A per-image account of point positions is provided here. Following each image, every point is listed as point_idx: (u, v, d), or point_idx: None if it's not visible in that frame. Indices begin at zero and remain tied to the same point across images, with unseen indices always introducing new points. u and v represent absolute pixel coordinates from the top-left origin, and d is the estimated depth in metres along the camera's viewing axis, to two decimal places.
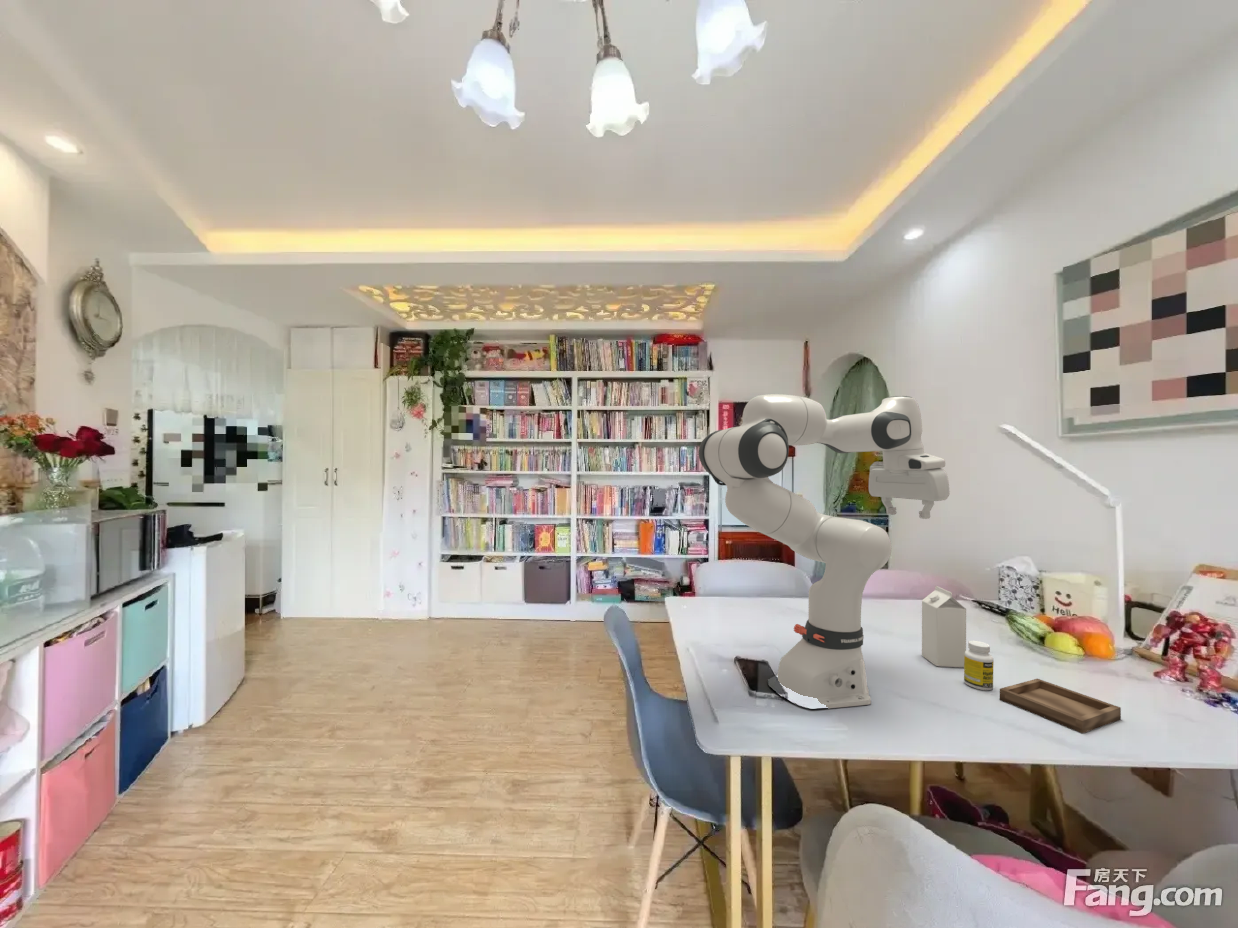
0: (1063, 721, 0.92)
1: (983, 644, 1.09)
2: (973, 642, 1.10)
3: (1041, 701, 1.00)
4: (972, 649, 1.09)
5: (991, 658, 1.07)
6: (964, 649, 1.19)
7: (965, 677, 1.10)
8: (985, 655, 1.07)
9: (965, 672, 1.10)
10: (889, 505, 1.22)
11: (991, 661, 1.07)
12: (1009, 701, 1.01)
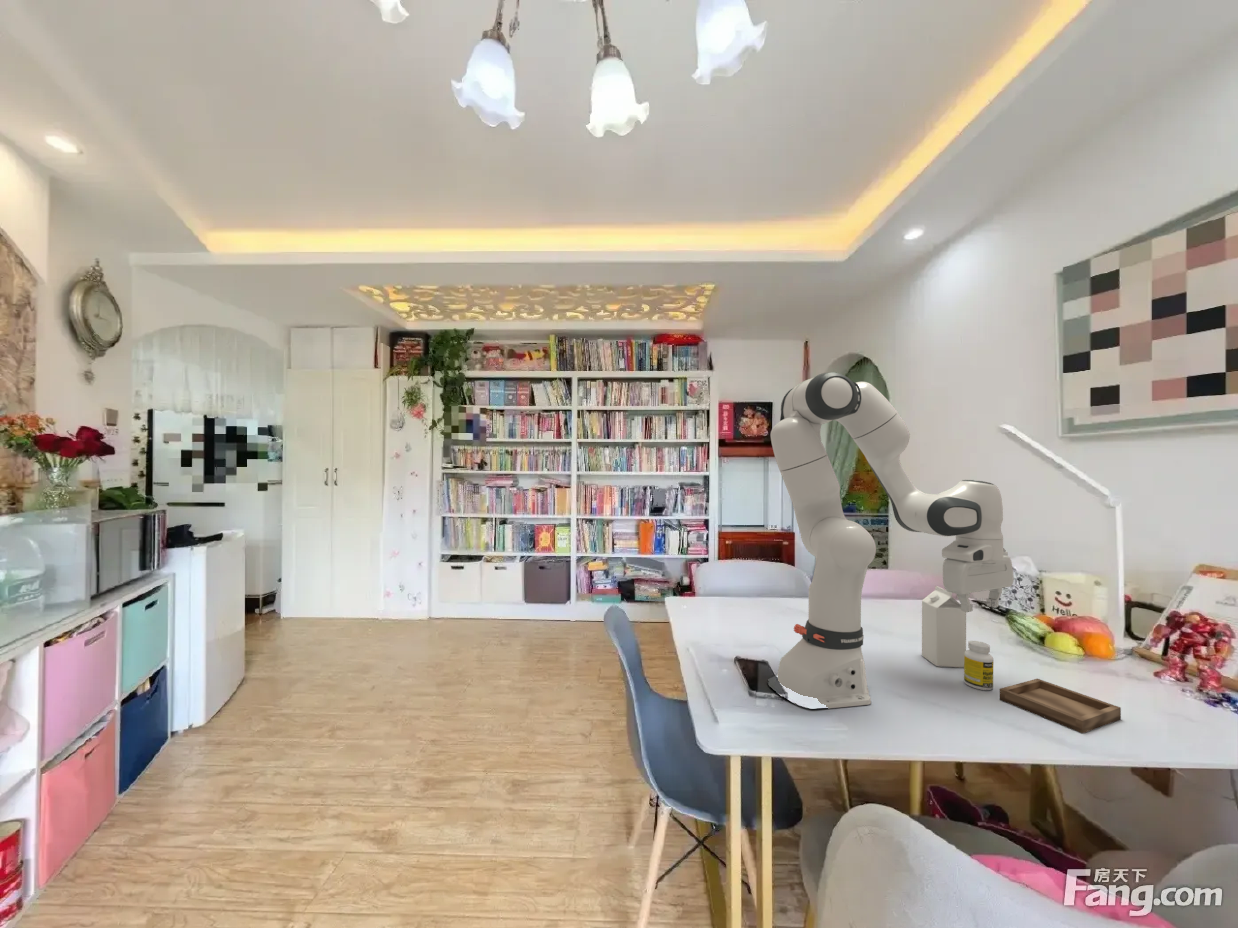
0: (1063, 721, 0.92)
1: (983, 644, 1.09)
2: (973, 642, 1.10)
3: (1041, 701, 1.00)
4: (972, 649, 1.09)
5: (991, 658, 1.07)
6: (964, 649, 1.19)
7: (965, 677, 1.10)
8: (985, 655, 1.07)
9: (965, 672, 1.10)
10: (992, 596, 1.11)
11: (991, 661, 1.07)
12: (1009, 701, 1.01)
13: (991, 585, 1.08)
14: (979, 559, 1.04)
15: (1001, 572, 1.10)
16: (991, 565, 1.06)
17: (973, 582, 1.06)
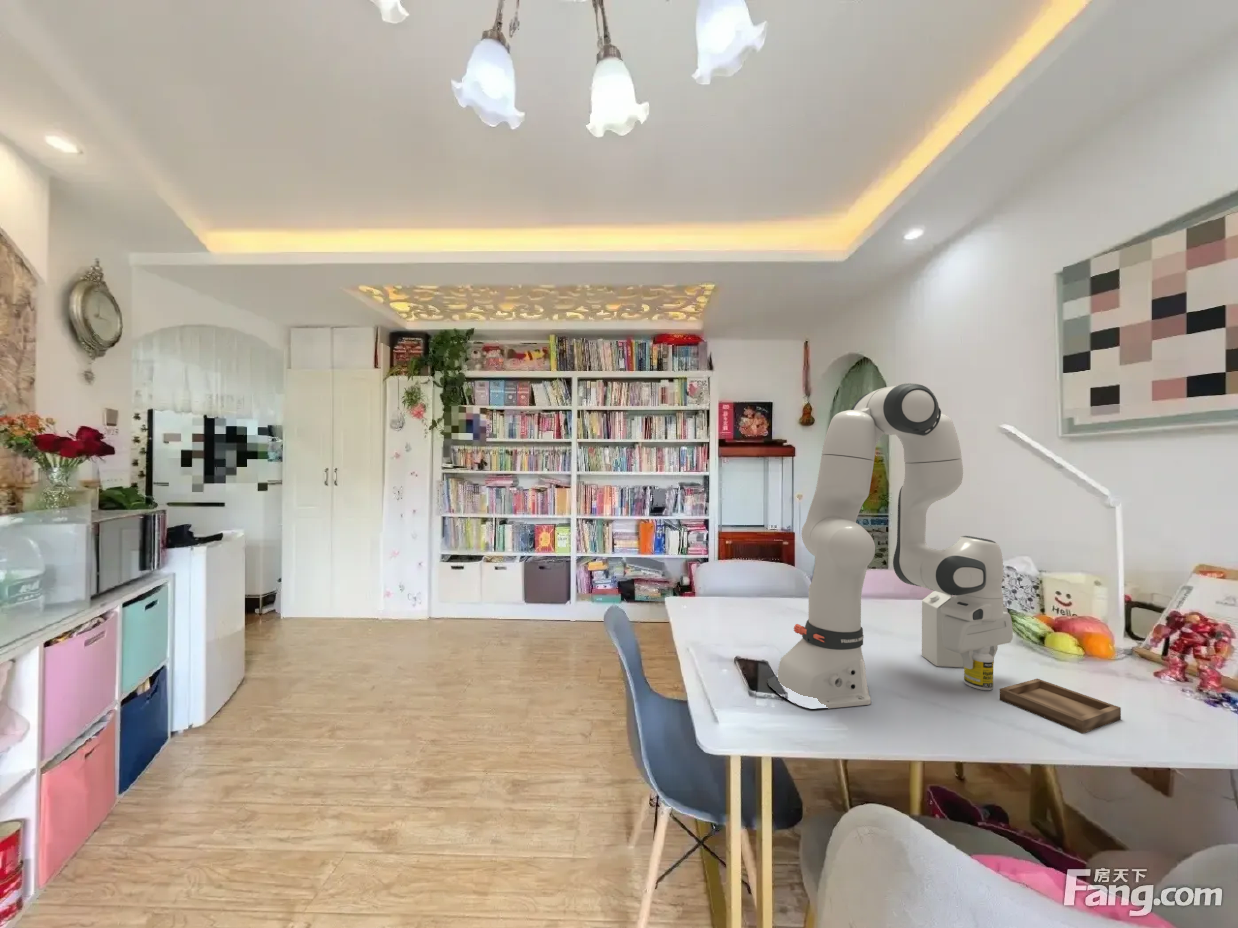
0: (1063, 721, 0.92)
1: None
2: None
3: (1041, 701, 1.00)
4: None
5: (991, 658, 1.07)
6: None
7: (965, 677, 1.10)
8: (985, 655, 1.07)
9: (965, 672, 1.10)
10: None
11: (991, 661, 1.07)
12: (1009, 701, 1.01)
13: (990, 642, 1.08)
14: (979, 618, 1.04)
15: (1000, 629, 1.09)
16: (991, 623, 1.06)
17: (972, 640, 1.06)
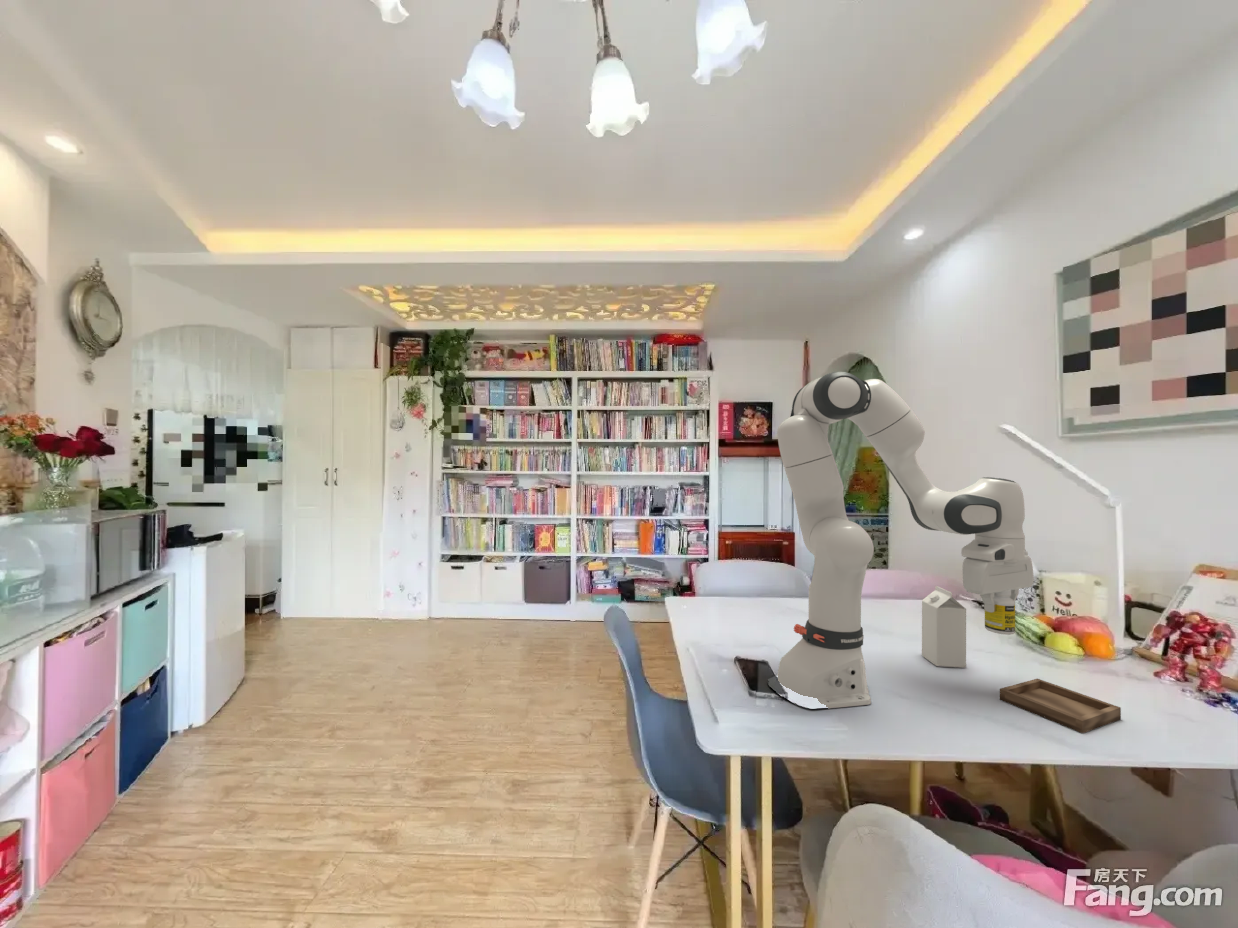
0: (1063, 721, 0.92)
1: None
2: None
3: (1041, 701, 1.00)
4: None
5: (1013, 602, 1.04)
6: (964, 649, 1.19)
7: (986, 623, 1.07)
8: (1006, 599, 1.05)
9: (986, 618, 1.07)
10: None
11: (1013, 605, 1.04)
12: (1009, 701, 1.01)
13: (1012, 585, 1.05)
14: (1001, 558, 1.01)
15: (1021, 572, 1.07)
16: (1012, 565, 1.03)
17: (994, 582, 1.03)
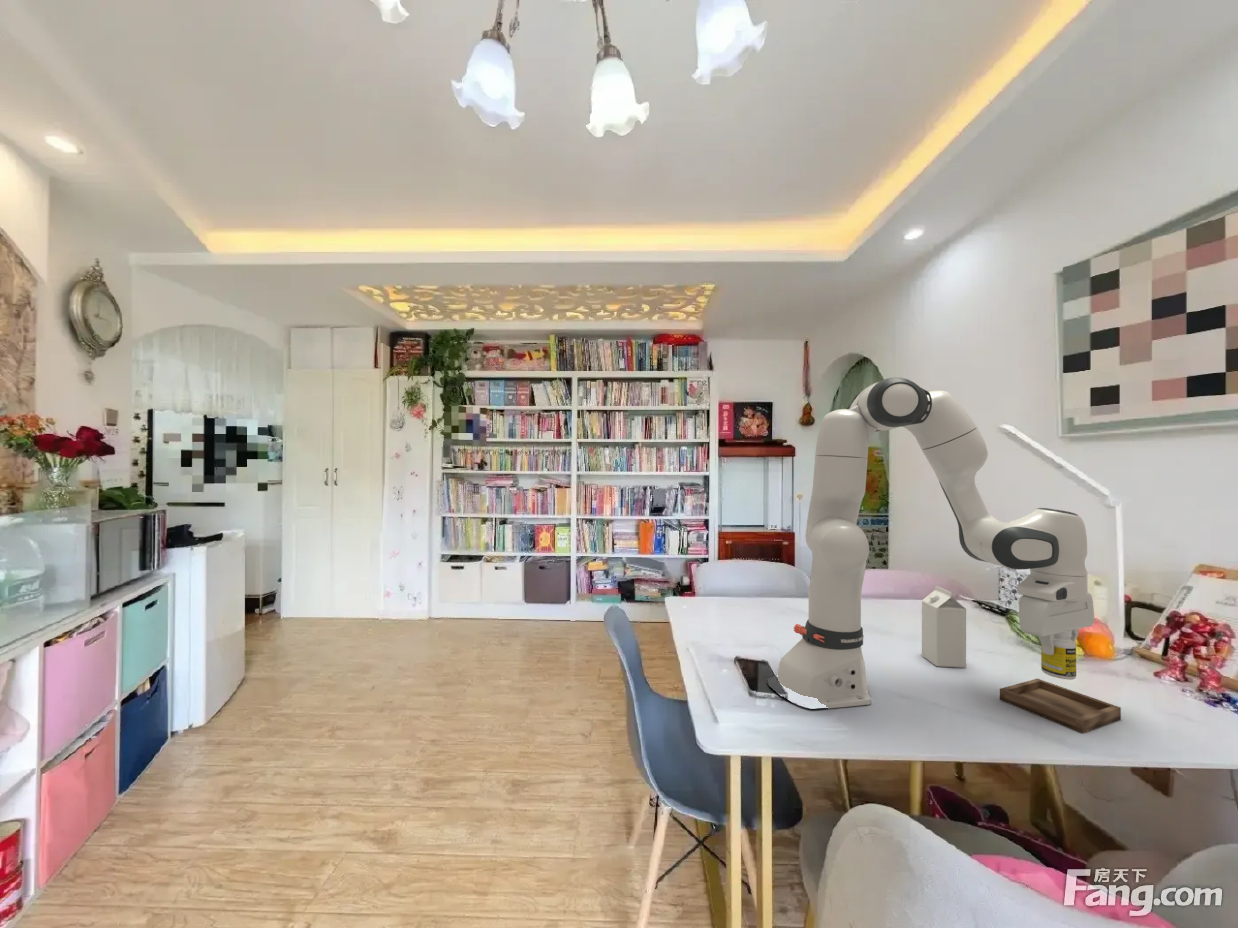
0: (1063, 721, 0.92)
1: None
2: None
3: (1041, 701, 1.00)
4: None
5: (1074, 644, 0.96)
6: (964, 649, 1.19)
7: (1043, 665, 0.99)
8: (1067, 641, 0.97)
9: (1043, 660, 0.99)
10: None
11: (1074, 647, 0.96)
12: (1009, 701, 1.01)
13: (1072, 625, 0.97)
14: (1062, 598, 0.94)
15: (1082, 611, 0.99)
16: (1074, 604, 0.96)
17: (1054, 623, 0.95)
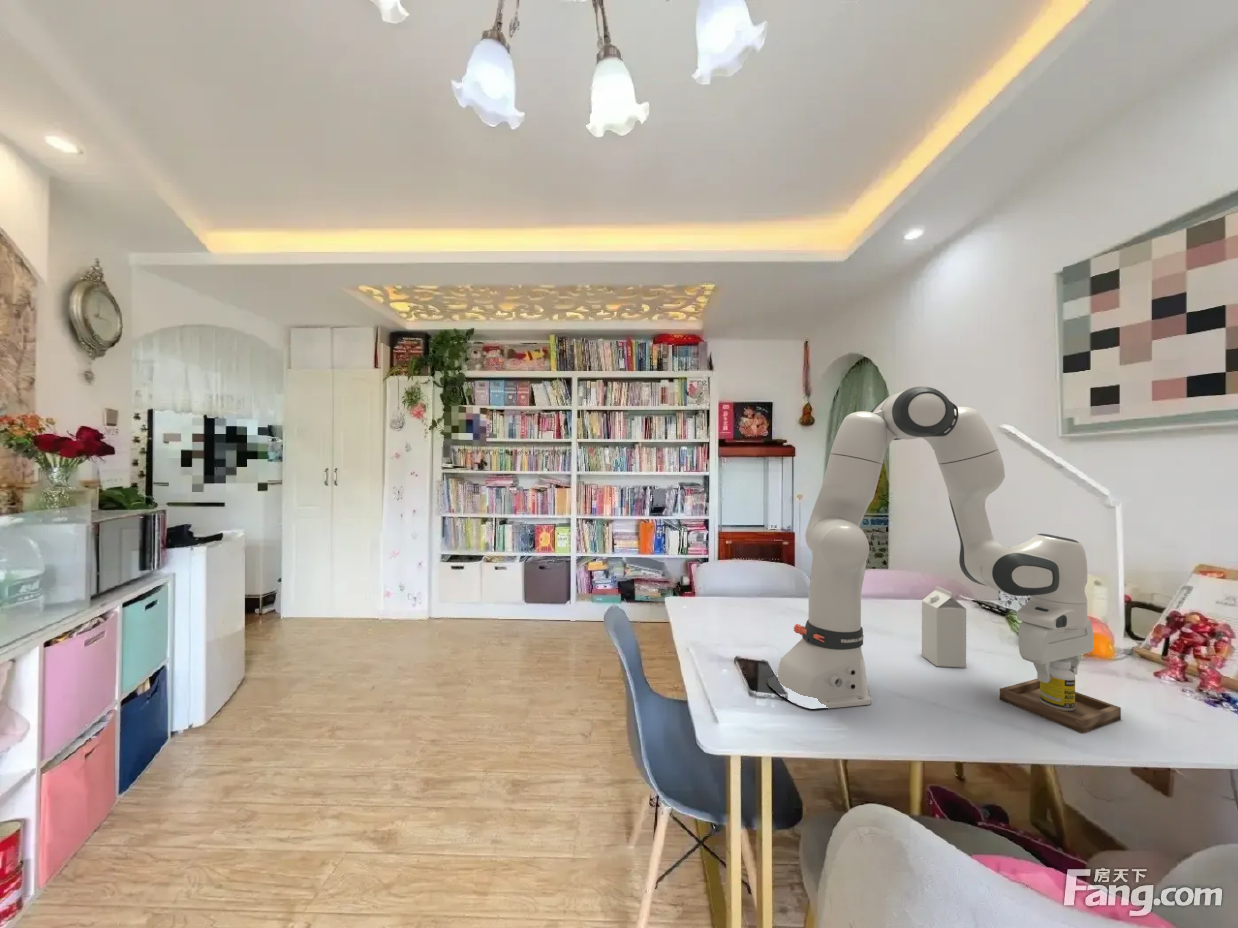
0: (1063, 721, 0.92)
1: (1063, 659, 0.98)
2: None
3: None
4: (1050, 665, 0.98)
5: (1073, 675, 0.96)
6: (964, 649, 1.19)
7: (1042, 696, 0.99)
8: (1066, 672, 0.97)
9: (1042, 690, 0.99)
10: None
11: (1073, 679, 0.96)
12: (1009, 701, 1.01)
13: (1071, 652, 0.97)
14: (1062, 626, 0.94)
15: (1081, 637, 0.99)
16: (1073, 631, 0.96)
17: (1053, 650, 0.95)
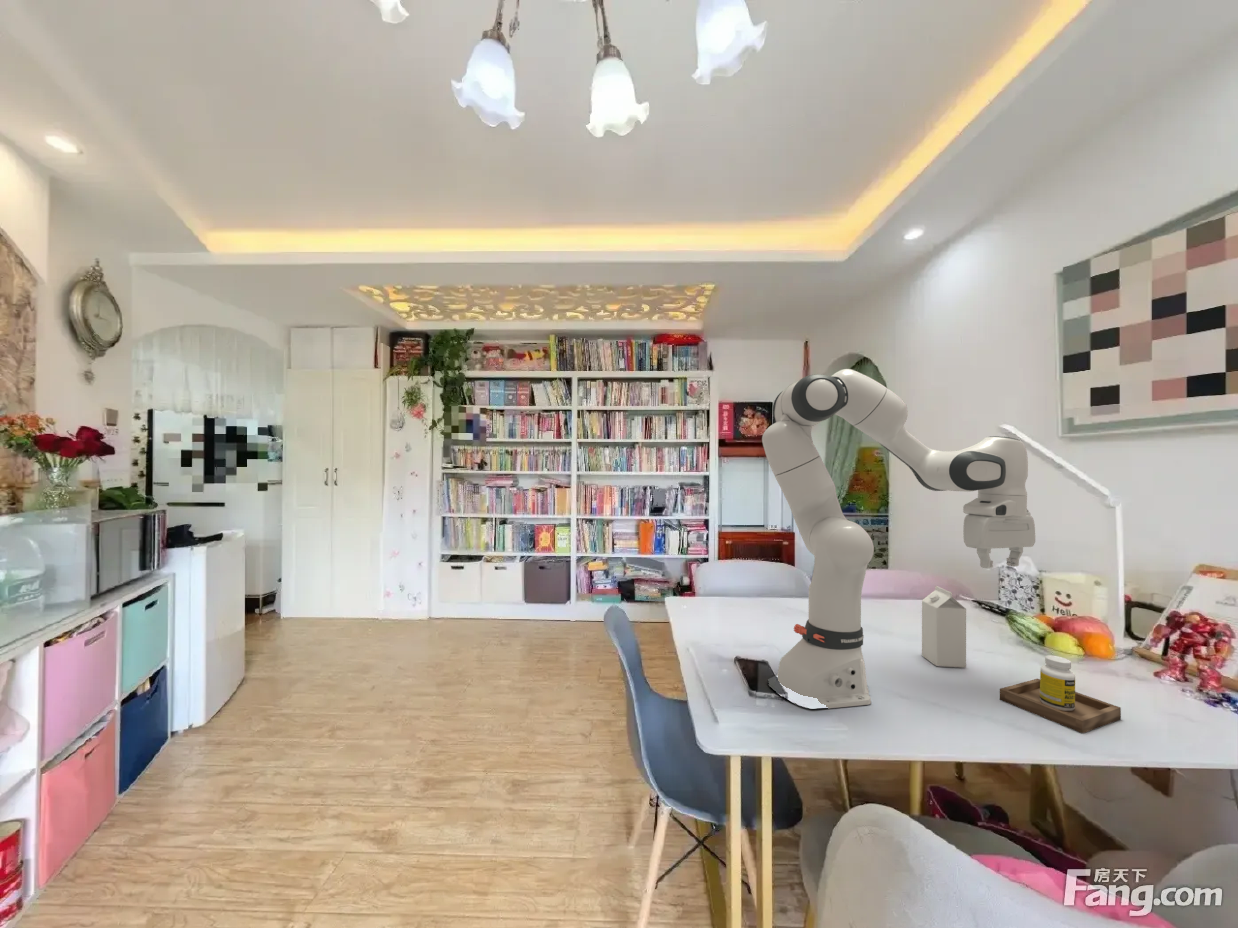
0: (1063, 721, 0.92)
1: (1063, 659, 0.98)
2: (1051, 657, 0.99)
3: None
4: (1051, 665, 0.98)
5: (1073, 675, 0.96)
6: (964, 649, 1.19)
7: (1042, 696, 0.99)
8: (1066, 672, 0.97)
9: (1042, 690, 0.99)
10: (1013, 556, 1.10)
11: (1073, 679, 0.96)
12: (1009, 701, 1.01)
13: (1012, 543, 1.07)
14: (1002, 514, 1.03)
15: (1023, 531, 1.08)
16: (1013, 522, 1.05)
17: (994, 538, 1.05)
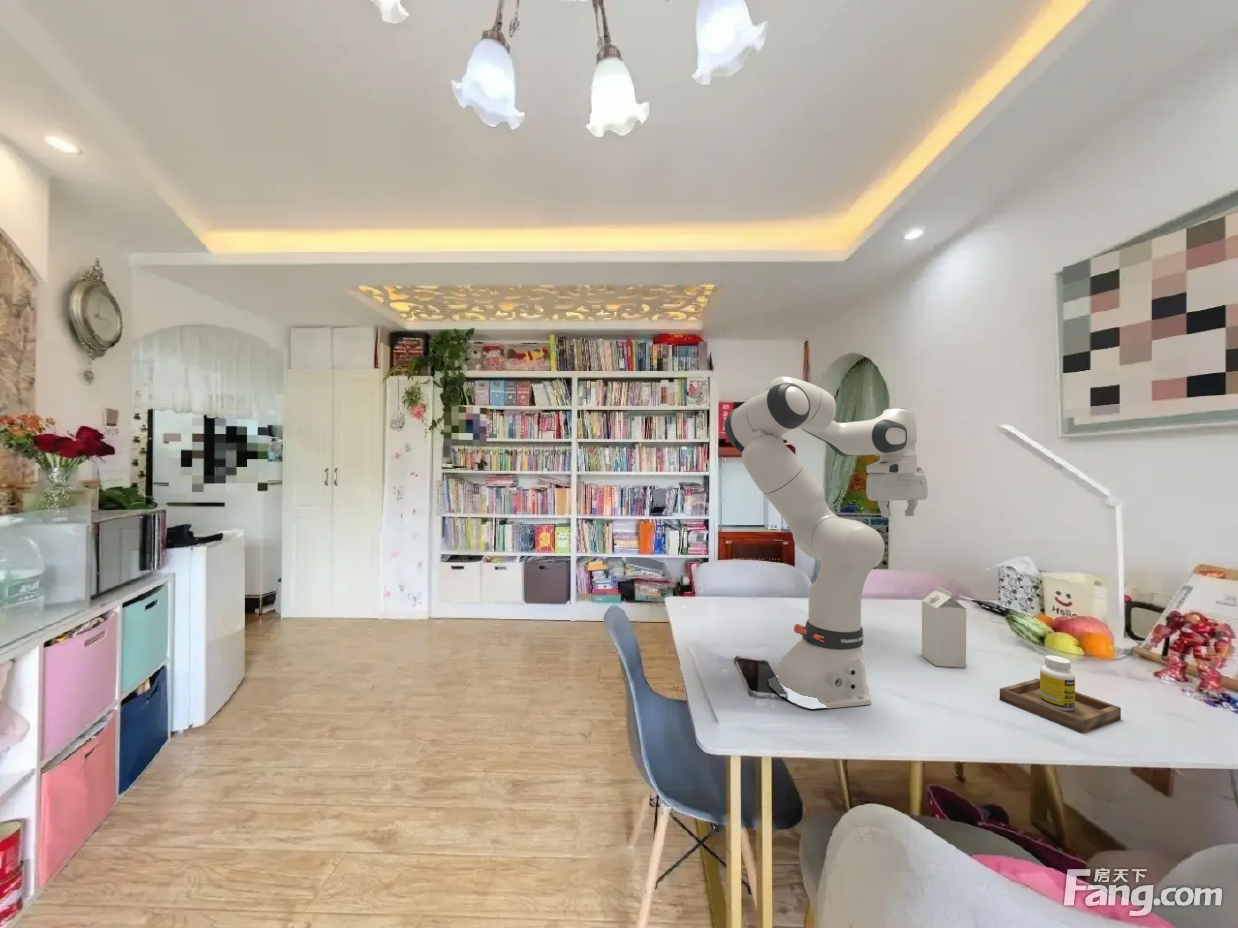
0: (1063, 721, 0.92)
1: (1062, 659, 0.98)
2: (1051, 657, 0.99)
3: None
4: (1050, 665, 0.98)
5: (1073, 675, 0.96)
6: (964, 649, 1.19)
7: (1042, 696, 0.99)
8: (1066, 672, 0.97)
9: (1042, 690, 0.99)
10: (910, 507, 1.33)
11: (1073, 679, 0.96)
12: (1009, 701, 1.01)
13: (907, 496, 1.29)
14: (894, 471, 1.26)
15: (916, 486, 1.31)
16: (906, 478, 1.28)
17: (890, 491, 1.27)
